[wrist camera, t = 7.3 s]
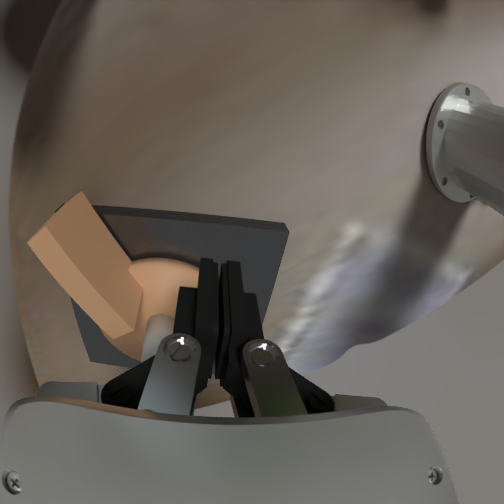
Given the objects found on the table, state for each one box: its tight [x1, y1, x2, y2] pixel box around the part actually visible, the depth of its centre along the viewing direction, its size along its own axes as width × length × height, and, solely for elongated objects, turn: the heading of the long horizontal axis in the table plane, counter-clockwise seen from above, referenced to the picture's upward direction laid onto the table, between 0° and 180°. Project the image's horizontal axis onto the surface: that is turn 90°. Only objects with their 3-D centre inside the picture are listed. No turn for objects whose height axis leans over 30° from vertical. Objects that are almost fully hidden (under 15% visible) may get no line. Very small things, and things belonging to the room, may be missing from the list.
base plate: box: [55, 204, 289, 374], centre depth 22 cm, size 18×18×6 cm
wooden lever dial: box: [27, 191, 219, 363], centre depth 19 cm, size 12×18×6 cm, turn 24°
